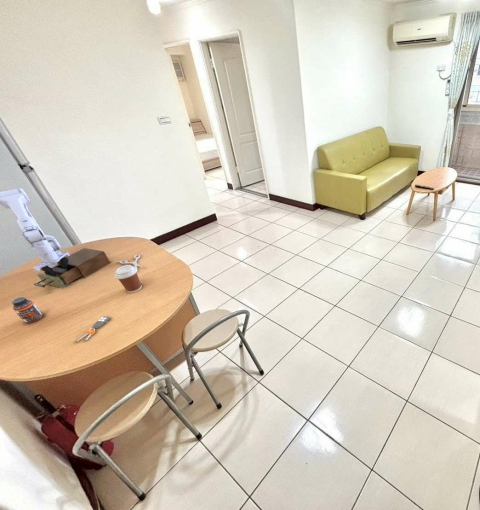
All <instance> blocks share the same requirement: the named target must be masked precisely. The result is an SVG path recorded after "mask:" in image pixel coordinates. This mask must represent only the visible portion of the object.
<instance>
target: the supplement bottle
mask: <svg viewBox="0 0 480 510" xmlns="http://www.w3.org/2000/svg"><path fill="white" fill-rule="evenodd" d="M11 303H12V305H13V306H12V310H13V312H15V313H16V314H17V316H18V317H19V318H20V320H22V321H23V322H24V323H25V324H32V323H35V322H37V321H39V320H40V319H42V318H43V316H44V314H43V313H42V312H41V310H40V309H39V307H37V305H36V304H35V303H34V302H33V301H32V300H31V299H27V298H26V297H25V296H19V297H17V298H15V299H13V300H12V301H11Z"/></svg>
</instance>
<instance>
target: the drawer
mask: <svg viewBox="0 0 480 510" xmlns="http://www.w3.org/2000/svg"><path fill="white" fill-rule="evenodd" d="M55 267H57V268H62V269H63V267H62V266H61V265H60V264H58V265H56V266H54V267H53V268H55ZM68 267H69V271H67V272H65V273H64V274H62V275H60V276H61V278H62V279H60V278H59V277H56V276H51V275H49V274H48V273H46V272H44V271H43V273H41V272H39V273H37V274H36V275H37V277H38V278H39V279H40V281H37V282H34V283H33V284H32V285H33V286H36V287H40V288H45V287H46V286H47V285H48V286H53V287H57V288H63V289H64V288H66V287H67V286H66V285H68V284H70V283H72V282H73V281H75V280H77V279H78V278H81V277H80V276H82V274H81V273H80V271H79V270H78V268H77V267H74V266H69V265H68ZM53 268H52V269H53ZM42 283H43V284H42Z"/></svg>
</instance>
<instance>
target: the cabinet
mask: <svg viewBox="0 0 480 510" xmlns="http://www.w3.org/2000/svg"><path fill="white" fill-rule="evenodd" d="M66 258H68V265H69V266H74V267H77V268H78V270H79V271H80V273H81V274H82V276H80V277H79V278H84V279H86V278H88V277H89V276H90V275H92V274H94V273H96V272H97V271H99V270H101V269H102V268H104V267H106V266H107V265H109V264H111V261H110V259H109V258H108V256H107V254H106V252H105V251H104V250H100V249H99V250H98V249H93V248H86V247H83V248H81V249H79V250H77V251H76V252H75V251H74V252H72V253H71V254H70V256H66ZM57 264H60V263H59V262H57Z"/></svg>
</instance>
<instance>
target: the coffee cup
mask: <svg viewBox="0 0 480 510" xmlns="http://www.w3.org/2000/svg"><path fill="white" fill-rule="evenodd" d="M137 272H138V268H137V269H136V268H135V266H133V265H132V264H131V265H130V264H128V265H127V264H126V265H122V266H119V267H118V268H117V269H116V270H115V272H114V278H115V279H117V280H118V281H119V282H120V284H121V286H123V287H124V289H125V290H126V292H127V293H135V292H137V291H139V290H141V289H142V287H143V285H142V283H141V280H140V277H139V275H138V273H137Z"/></svg>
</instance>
